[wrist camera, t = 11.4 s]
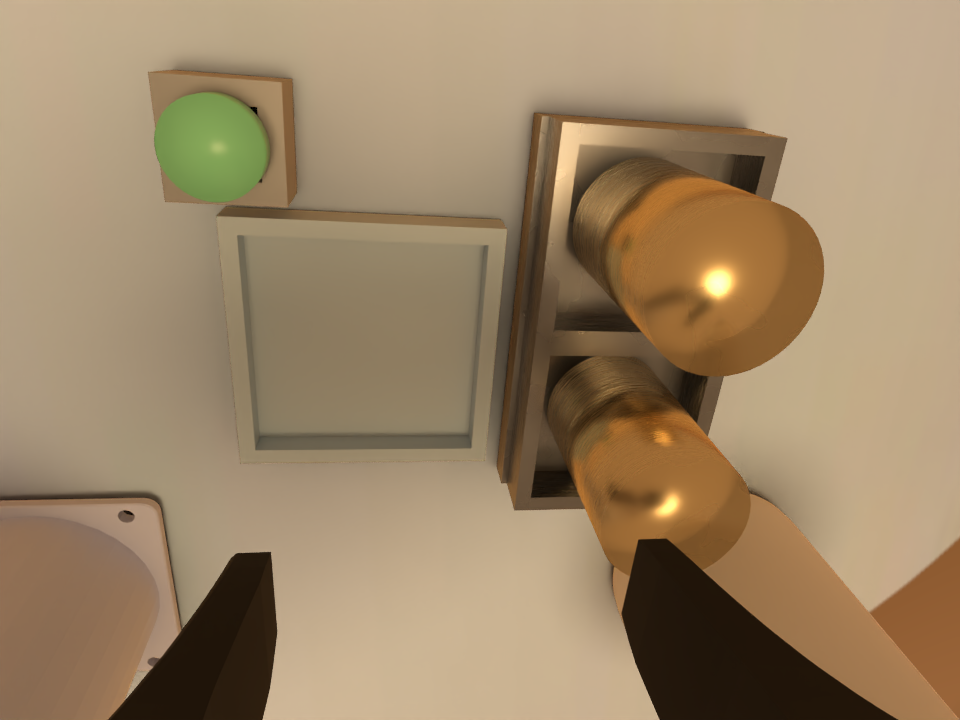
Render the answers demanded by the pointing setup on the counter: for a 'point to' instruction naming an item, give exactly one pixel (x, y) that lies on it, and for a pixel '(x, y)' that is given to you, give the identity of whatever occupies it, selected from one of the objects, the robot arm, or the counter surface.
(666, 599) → the robot arm
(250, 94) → the button housing
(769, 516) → the pill bottle
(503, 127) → the counter surface
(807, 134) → the counter surface
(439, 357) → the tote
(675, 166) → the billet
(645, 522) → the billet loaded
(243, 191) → the button
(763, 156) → the crate
